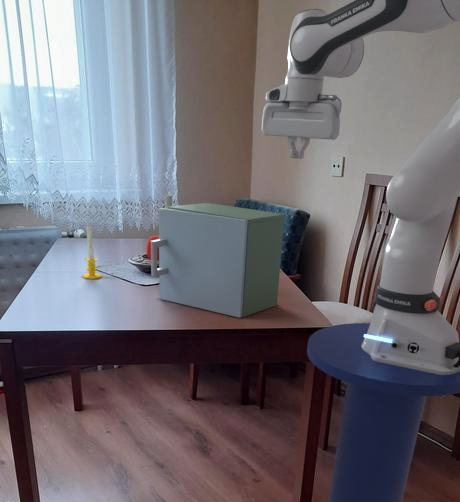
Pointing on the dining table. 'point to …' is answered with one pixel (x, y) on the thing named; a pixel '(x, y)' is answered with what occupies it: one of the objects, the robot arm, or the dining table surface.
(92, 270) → the candle
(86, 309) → the dining table surface
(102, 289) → the dining table surface
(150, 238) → the tomato
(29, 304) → the dining table surface
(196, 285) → the cupboard door
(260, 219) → the cupboard
